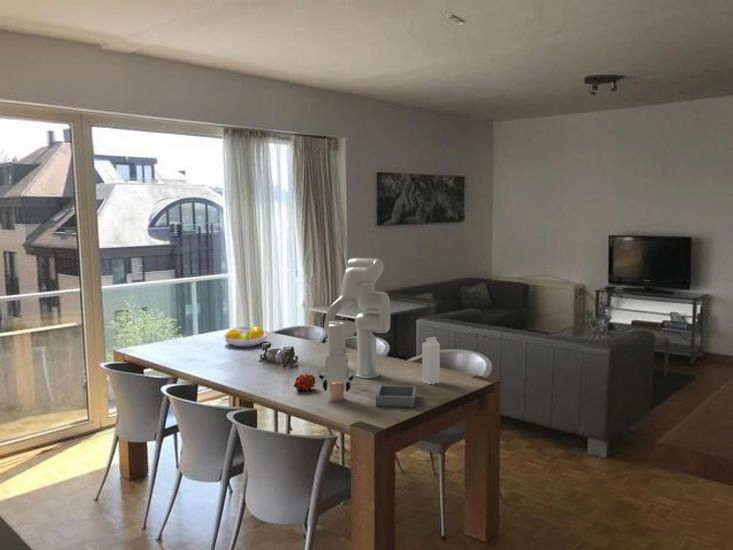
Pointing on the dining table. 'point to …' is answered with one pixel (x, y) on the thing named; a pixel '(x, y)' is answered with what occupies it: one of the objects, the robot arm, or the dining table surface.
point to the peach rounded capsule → (336, 391)
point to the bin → (396, 396)
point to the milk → (431, 361)
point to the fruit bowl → (245, 337)
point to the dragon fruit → (305, 382)
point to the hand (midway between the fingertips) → (336, 390)
